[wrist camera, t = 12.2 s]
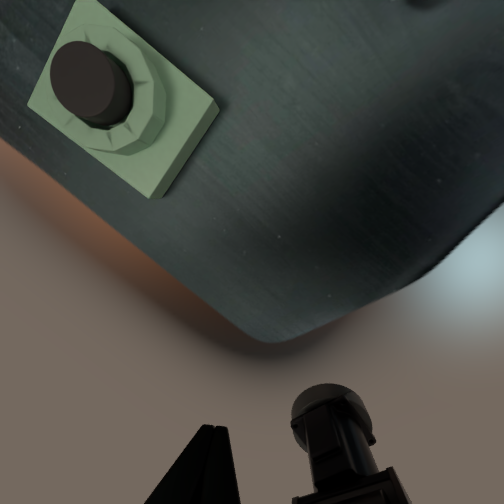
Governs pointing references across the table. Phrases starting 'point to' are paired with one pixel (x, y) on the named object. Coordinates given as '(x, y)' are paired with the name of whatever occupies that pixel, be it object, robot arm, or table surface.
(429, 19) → the table surface
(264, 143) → the table surface
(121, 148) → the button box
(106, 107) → the push button
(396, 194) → the table surface
